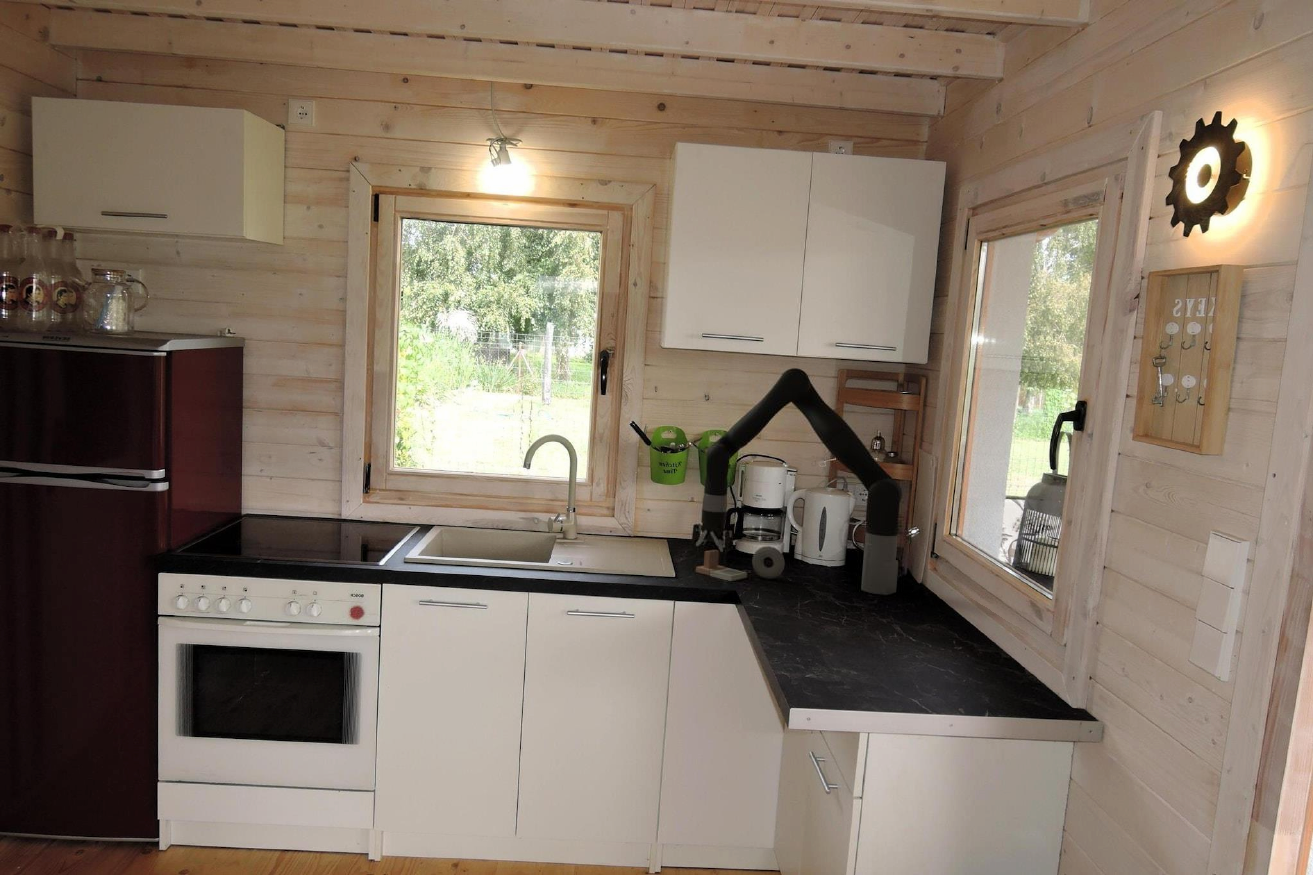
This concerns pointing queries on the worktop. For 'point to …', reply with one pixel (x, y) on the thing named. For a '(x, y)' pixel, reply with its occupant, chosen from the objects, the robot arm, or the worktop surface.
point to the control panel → (728, 574)
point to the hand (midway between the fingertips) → (710, 560)
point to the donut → (762, 569)
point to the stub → (709, 562)
